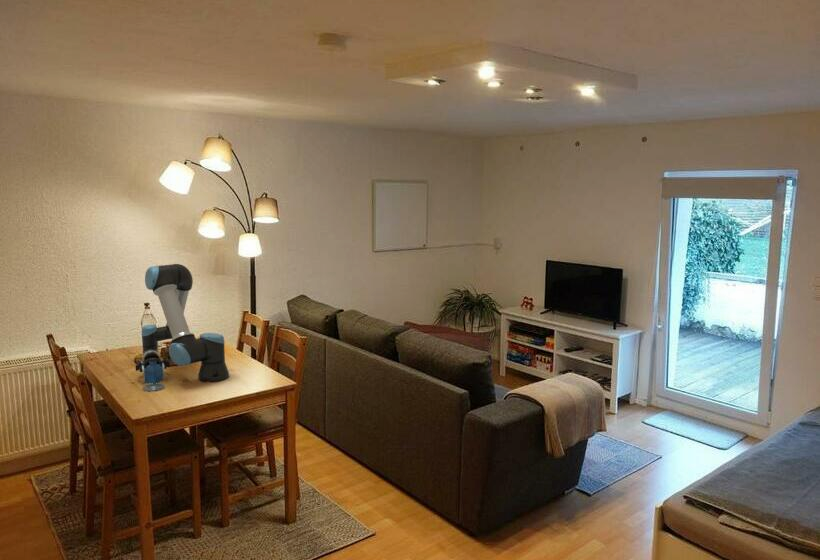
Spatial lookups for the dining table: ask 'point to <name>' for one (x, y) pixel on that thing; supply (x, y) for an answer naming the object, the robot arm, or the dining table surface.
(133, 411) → the dining table surface
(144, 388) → the coaster
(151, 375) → the perfume bottle
